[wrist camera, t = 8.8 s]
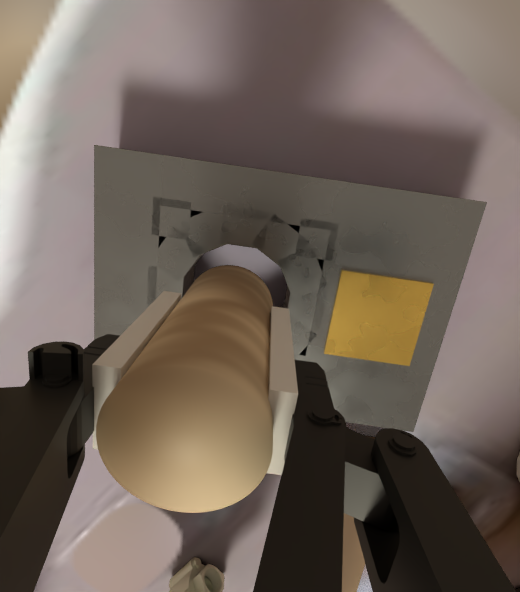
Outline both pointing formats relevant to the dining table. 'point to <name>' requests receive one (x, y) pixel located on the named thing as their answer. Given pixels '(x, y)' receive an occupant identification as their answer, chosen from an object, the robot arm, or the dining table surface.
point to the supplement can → (518, 467)
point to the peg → (196, 400)
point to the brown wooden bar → (351, 555)
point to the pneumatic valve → (197, 578)
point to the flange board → (294, 264)
